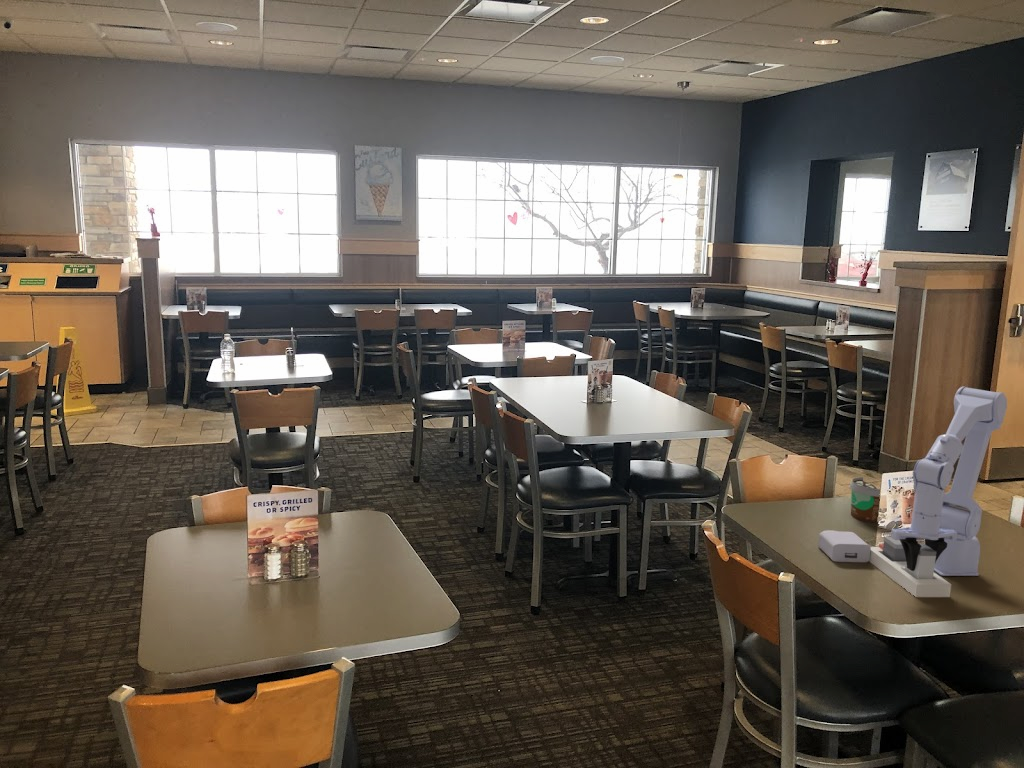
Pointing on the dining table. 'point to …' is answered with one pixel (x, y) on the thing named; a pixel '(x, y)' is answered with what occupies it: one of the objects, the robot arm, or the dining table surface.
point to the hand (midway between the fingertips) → (919, 569)
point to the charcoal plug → (893, 550)
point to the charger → (844, 546)
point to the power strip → (909, 576)
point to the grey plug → (924, 563)
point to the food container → (864, 500)
